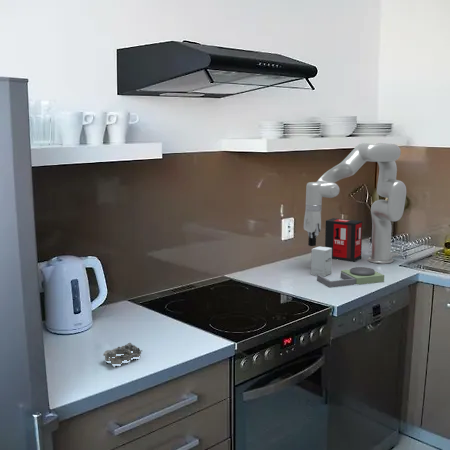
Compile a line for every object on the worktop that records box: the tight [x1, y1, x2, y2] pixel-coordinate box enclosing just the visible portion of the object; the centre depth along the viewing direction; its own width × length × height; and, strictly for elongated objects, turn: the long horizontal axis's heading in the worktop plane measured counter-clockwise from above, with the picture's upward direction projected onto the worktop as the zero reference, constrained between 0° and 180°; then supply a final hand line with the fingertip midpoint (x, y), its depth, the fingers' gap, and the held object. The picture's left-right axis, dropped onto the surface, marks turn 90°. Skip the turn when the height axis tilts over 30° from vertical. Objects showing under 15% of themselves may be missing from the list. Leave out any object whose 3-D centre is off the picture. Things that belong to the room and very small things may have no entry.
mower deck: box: [316, 266, 385, 288], centre depth 252 cm, size 27×14×4 cm, turn 108°
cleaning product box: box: [324, 217, 363, 263], centre depth 291 cm, size 16×9×20 cm, turn 53°
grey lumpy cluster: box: [102, 342, 143, 365], centre depth 171 cm, size 11×8×4 cm
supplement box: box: [310, 246, 333, 278], centre depth 262 cm, size 7×7×13 cm
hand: (312, 245), depth 269 cm, fingers closed
